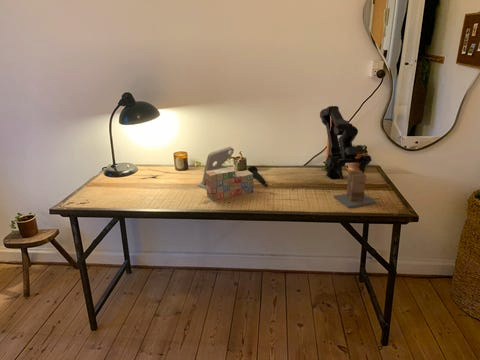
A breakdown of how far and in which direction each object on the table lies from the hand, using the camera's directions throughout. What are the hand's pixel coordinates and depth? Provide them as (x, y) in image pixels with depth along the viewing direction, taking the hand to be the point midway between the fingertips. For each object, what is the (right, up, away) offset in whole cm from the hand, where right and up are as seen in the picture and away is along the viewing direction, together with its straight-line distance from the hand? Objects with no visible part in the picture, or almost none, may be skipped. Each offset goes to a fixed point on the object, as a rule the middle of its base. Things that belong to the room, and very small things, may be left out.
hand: (352, 178), depth 179 cm
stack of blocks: (-55, -8, +9) cm, 56 cm away
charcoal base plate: (+1, -10, -1) cm, 10 cm away
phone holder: (-62, -2, +23) cm, 66 cm away
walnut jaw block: (+1, -9, -2) cm, 9 cm away
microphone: (-42, -1, +25) cm, 49 cm away
